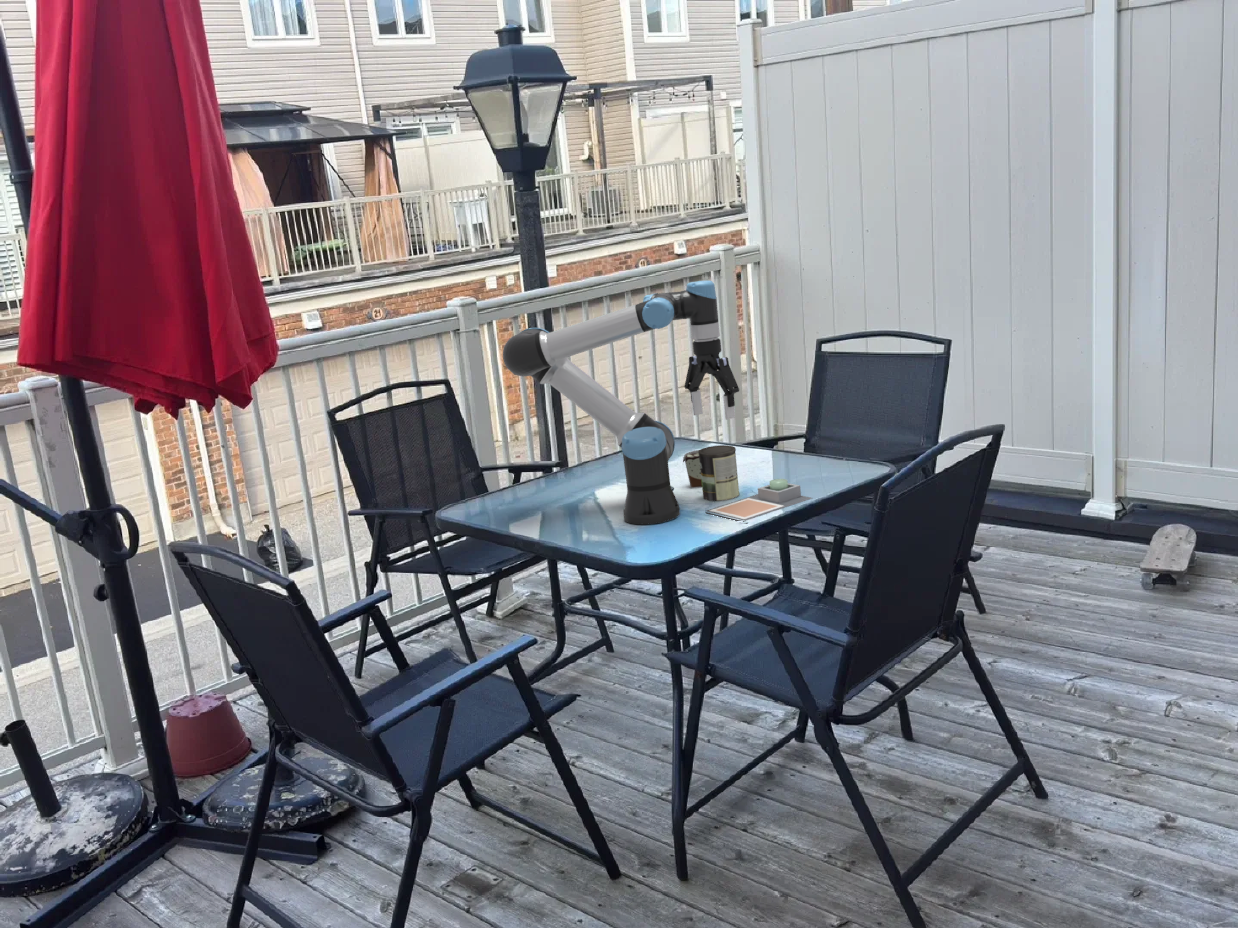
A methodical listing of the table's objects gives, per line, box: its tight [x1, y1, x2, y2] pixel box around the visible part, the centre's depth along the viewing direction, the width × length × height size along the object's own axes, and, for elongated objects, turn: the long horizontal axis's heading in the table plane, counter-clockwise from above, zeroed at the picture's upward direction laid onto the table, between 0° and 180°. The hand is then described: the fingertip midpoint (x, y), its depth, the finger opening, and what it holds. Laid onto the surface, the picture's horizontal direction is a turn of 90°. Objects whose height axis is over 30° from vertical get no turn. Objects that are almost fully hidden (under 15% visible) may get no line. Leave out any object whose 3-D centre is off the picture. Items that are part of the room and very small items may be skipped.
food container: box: [682, 449, 702, 489], centre depth 318 cm, size 12×6×10 cm, turn 84°
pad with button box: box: [705, 482, 813, 522], centre depth 289 cm, size 24×16×4 cm, turn 125°
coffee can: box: [698, 444, 740, 502], centre depth 300 cm, size 10×10×14 cm
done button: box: [769, 478, 789, 491], centre depth 292 cm, size 5×5×3 cm
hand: (714, 416), depth 296 cm, fingers open, 13 cm apart
